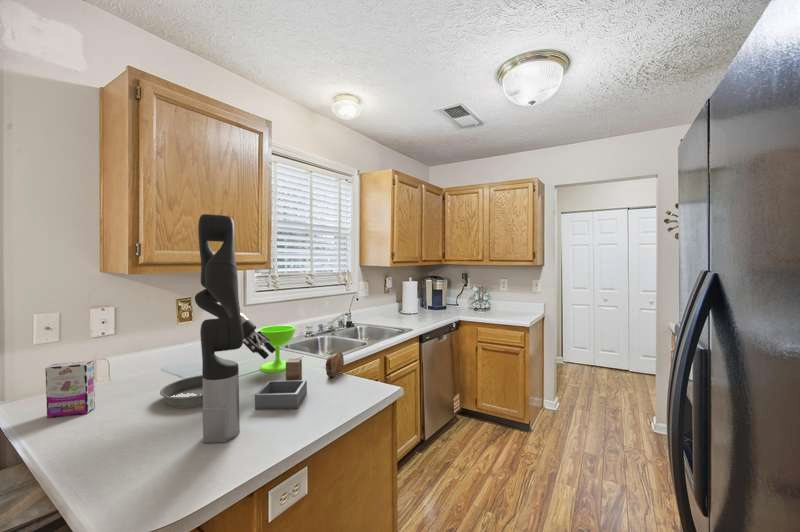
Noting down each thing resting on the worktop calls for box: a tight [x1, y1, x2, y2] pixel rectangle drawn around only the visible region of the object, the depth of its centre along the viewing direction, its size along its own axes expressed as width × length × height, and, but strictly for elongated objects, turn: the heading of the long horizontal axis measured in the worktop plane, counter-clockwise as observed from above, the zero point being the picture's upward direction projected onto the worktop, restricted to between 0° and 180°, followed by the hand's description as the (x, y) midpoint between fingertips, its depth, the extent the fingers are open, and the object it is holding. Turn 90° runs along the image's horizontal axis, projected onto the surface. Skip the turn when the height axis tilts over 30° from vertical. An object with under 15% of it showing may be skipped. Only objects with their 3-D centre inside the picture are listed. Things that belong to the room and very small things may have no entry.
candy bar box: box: [44, 360, 96, 419], centre depth 120 cm, size 11×5×16 cm, turn 105°
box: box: [254, 379, 308, 411], centre depth 128 cm, size 14×14×5 cm
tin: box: [325, 352, 345, 378], centre depth 158 cm, size 15×3×8 cm, turn 168°
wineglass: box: [258, 325, 296, 374], centre depth 168 cm, size 16×16×18 cm
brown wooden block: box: [285, 358, 303, 381], centre depth 144 cm, size 5×5×10 cm
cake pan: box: [159, 374, 203, 408], centre depth 134 cm, size 25×25×4 cm
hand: (270, 354), depth 143 cm, fingers open, 8 cm apart
